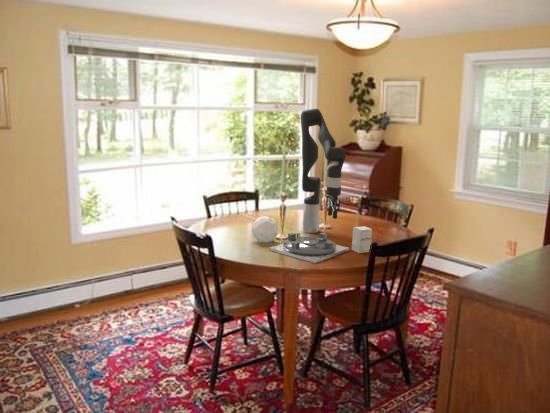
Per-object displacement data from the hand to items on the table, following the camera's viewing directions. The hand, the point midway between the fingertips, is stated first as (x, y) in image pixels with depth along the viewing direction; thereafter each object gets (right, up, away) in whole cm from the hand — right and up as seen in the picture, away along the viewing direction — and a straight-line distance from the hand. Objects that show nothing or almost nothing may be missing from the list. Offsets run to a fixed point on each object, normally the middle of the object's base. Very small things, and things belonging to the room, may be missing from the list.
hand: (332, 216), depth 265 cm
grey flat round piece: (-12, -16, 0) cm, 20 cm away
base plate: (-12, -18, +1) cm, 21 cm away
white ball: (-36, -14, +16) cm, 42 cm away
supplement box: (+15, -18, +2) cm, 24 cm away
